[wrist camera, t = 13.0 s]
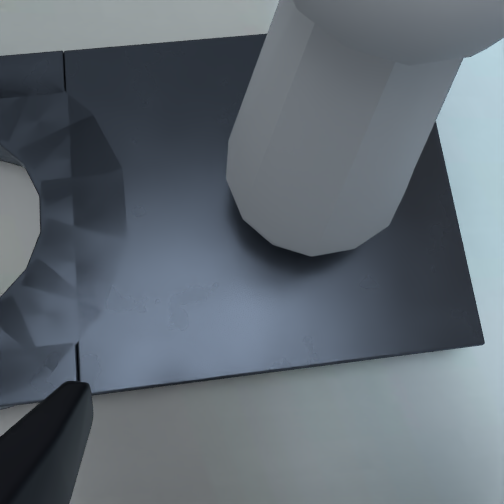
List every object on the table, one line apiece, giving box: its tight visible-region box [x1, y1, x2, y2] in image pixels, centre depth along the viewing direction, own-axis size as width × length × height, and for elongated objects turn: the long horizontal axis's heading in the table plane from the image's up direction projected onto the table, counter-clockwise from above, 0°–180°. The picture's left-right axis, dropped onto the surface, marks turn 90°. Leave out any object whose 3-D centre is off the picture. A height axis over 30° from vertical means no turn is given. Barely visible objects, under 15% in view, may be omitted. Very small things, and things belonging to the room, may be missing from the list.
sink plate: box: [0, 34, 485, 410], centre depth 19 cm, size 25×13×2 cm, turn 97°
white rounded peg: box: [226, 0, 504, 257], centre depth 11 cm, size 6×6×13 cm
